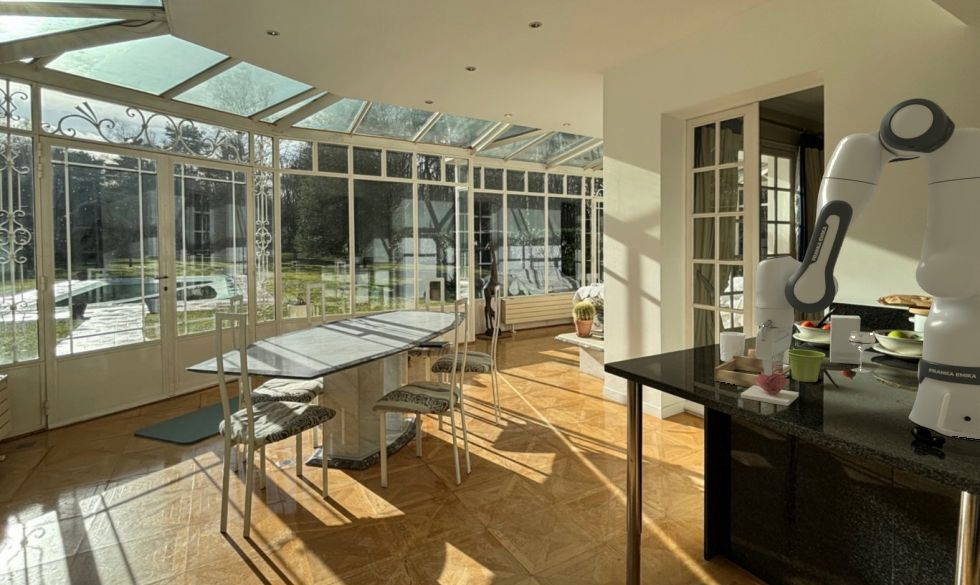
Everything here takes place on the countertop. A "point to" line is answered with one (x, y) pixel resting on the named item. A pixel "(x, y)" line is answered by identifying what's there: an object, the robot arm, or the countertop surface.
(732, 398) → the countertop surface
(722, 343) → the white cup
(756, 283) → the robot arm
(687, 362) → the countertop surface
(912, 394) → the countertop surface
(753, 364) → the open wooden box
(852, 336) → the wineglass
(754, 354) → the tan rounded block
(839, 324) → the skincare box
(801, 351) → the plant pot
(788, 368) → the lid
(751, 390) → the tile
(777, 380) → the flower
